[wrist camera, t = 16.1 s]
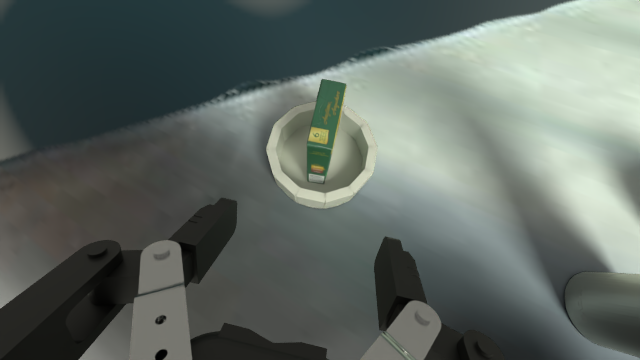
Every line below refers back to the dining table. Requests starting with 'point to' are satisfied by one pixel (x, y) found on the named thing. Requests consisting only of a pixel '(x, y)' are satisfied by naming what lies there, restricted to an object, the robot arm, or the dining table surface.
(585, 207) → the dining table surface
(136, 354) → the robot arm
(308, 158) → the coffee box
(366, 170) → the bowl
